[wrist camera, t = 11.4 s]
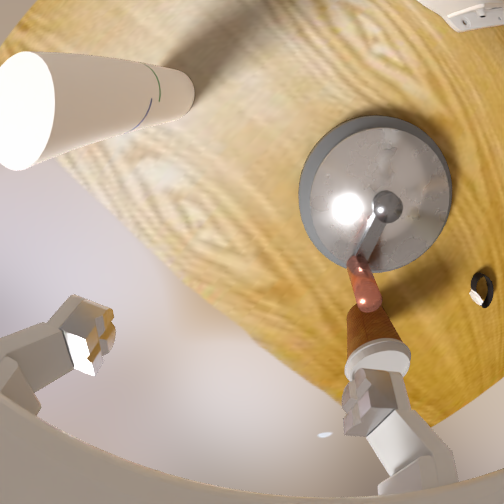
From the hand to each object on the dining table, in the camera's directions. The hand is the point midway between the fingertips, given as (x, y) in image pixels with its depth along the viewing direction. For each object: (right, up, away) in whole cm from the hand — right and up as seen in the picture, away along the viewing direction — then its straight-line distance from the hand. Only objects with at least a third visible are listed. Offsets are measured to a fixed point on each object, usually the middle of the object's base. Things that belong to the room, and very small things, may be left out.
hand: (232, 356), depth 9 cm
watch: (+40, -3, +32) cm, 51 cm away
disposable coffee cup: (+19, -7, +37) cm, 42 cm away
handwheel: (+17, +9, +26) cm, 32 cm away
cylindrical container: (-10, +23, +24) cm, 35 cm away
